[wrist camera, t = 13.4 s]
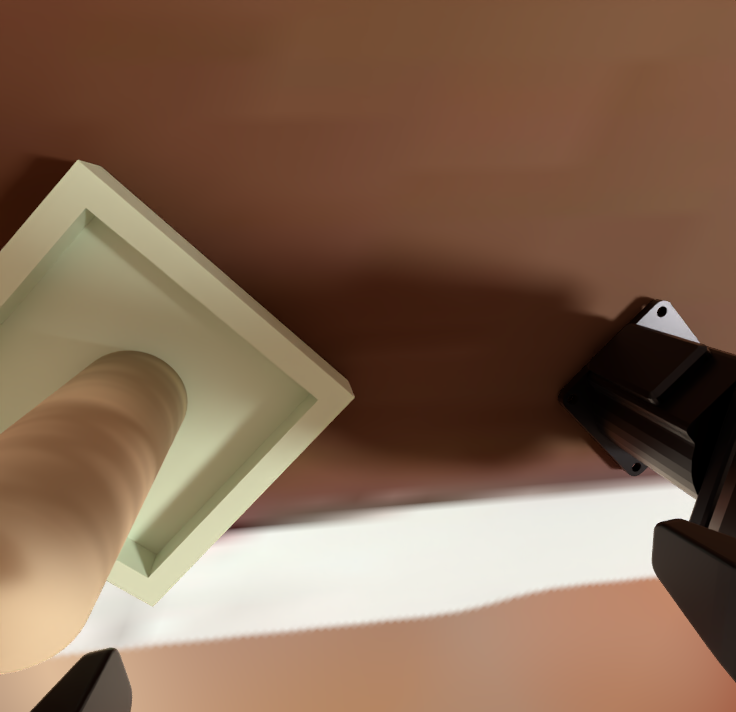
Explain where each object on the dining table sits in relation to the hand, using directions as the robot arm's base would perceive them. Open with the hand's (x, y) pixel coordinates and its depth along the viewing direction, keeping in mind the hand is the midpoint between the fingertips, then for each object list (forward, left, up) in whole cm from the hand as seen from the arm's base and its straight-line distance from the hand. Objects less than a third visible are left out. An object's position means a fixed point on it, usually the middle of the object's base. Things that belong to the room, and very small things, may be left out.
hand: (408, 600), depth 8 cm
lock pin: (+5, +6, -12) cm, 15 cm away
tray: (+5, +6, -13) cm, 15 cm away
